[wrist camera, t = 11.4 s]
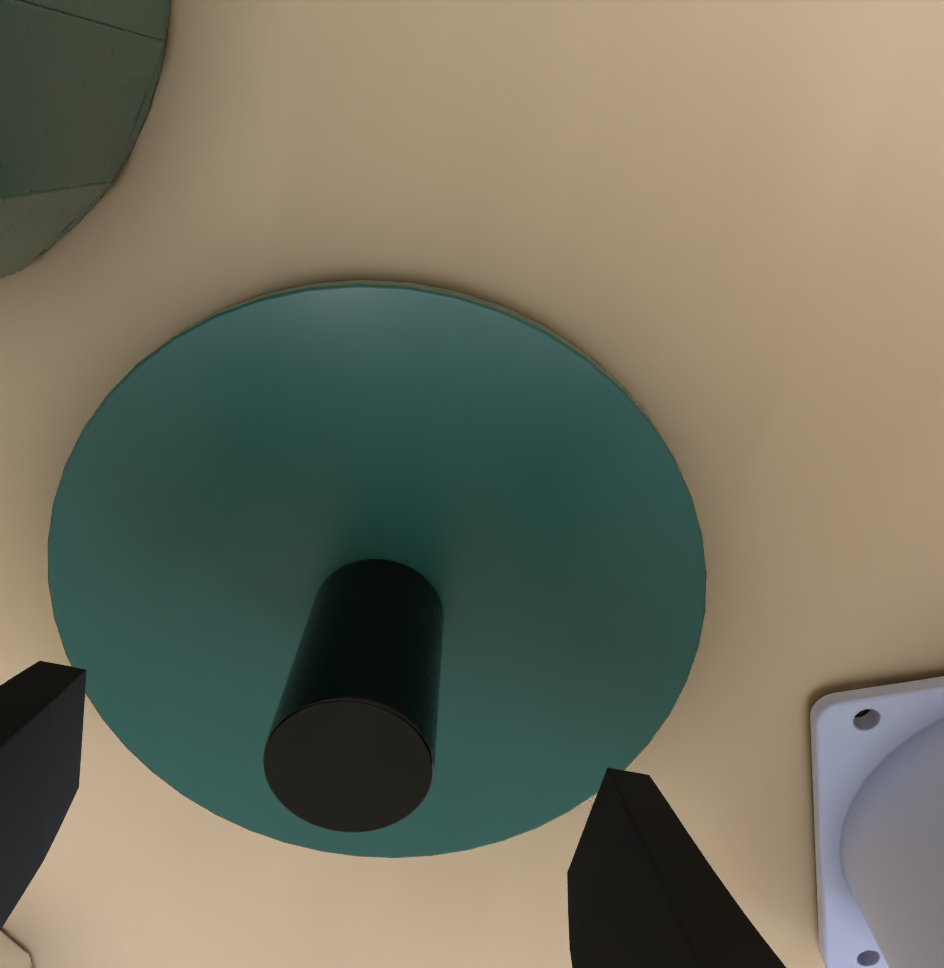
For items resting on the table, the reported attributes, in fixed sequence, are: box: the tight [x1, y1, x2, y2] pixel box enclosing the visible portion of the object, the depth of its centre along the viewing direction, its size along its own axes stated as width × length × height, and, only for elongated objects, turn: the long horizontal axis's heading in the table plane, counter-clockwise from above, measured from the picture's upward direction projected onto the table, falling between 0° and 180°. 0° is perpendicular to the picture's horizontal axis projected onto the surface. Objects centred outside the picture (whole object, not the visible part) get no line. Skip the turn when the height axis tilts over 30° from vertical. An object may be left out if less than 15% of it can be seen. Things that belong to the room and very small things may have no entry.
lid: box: [48, 280, 706, 858], centre depth 14 cm, size 12×12×5 cm
